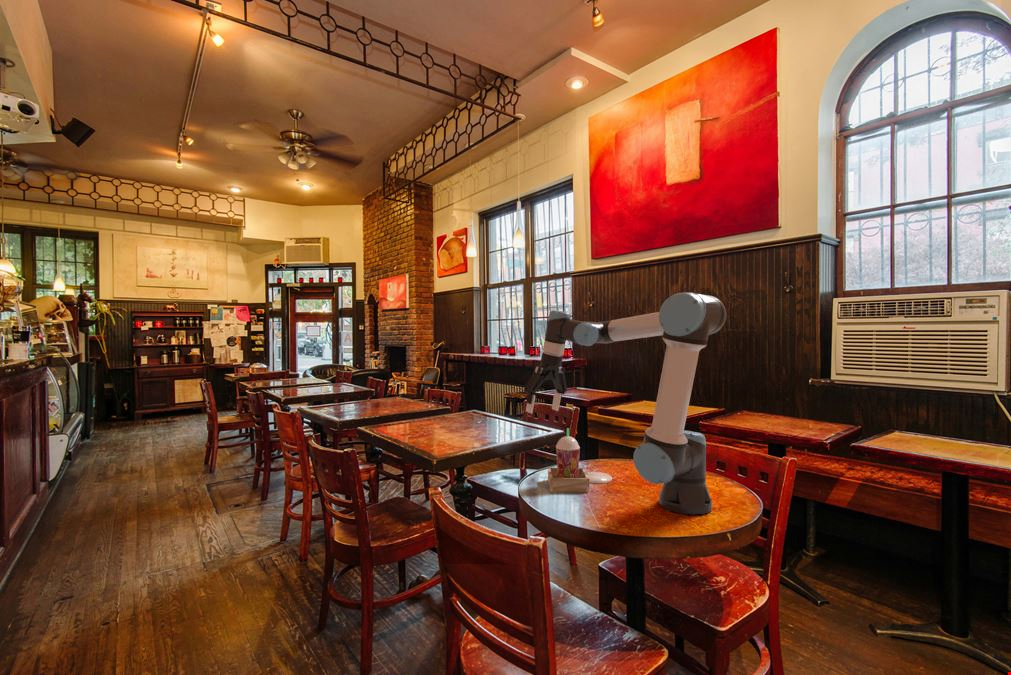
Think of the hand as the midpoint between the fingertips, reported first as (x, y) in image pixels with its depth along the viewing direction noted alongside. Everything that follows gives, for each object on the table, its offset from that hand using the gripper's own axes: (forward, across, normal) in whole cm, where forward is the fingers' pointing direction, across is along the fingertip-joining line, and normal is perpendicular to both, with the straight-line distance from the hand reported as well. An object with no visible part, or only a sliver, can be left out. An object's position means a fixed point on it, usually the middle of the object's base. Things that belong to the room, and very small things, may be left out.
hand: (542, 411), depth 167 cm
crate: (+22, -3, +15) cm, 27 cm away
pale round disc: (+22, -17, +16) cm, 32 cm away
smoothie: (+23, -3, +15) cm, 27 cm away
